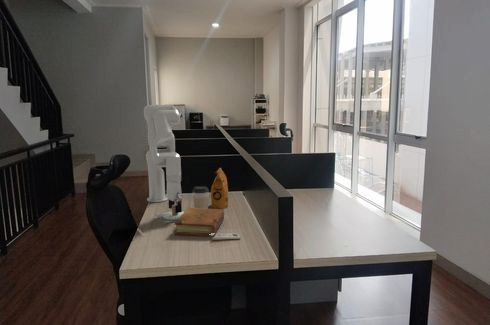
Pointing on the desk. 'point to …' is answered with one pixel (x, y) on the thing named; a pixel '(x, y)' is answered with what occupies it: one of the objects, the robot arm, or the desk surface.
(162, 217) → the mat
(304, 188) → the desk surface
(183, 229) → the diary
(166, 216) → the lid
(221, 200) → the coffee package
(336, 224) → the desk surface
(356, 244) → the desk surface
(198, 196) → the coffee cup
